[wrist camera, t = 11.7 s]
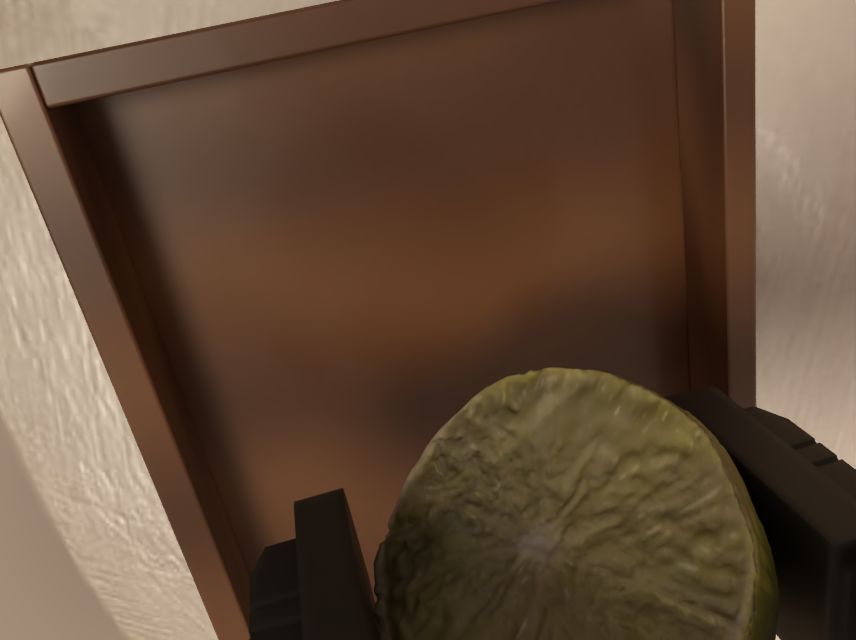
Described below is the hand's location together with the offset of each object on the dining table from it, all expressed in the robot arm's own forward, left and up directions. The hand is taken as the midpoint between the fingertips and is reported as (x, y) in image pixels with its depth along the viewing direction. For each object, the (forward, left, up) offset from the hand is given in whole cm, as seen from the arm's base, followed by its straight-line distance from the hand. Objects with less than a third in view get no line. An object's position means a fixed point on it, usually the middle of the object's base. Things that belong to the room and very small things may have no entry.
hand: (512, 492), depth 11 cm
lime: (0, 0, -1) cm, 1 cm away
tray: (0, 0, -10) cm, 10 cm away
